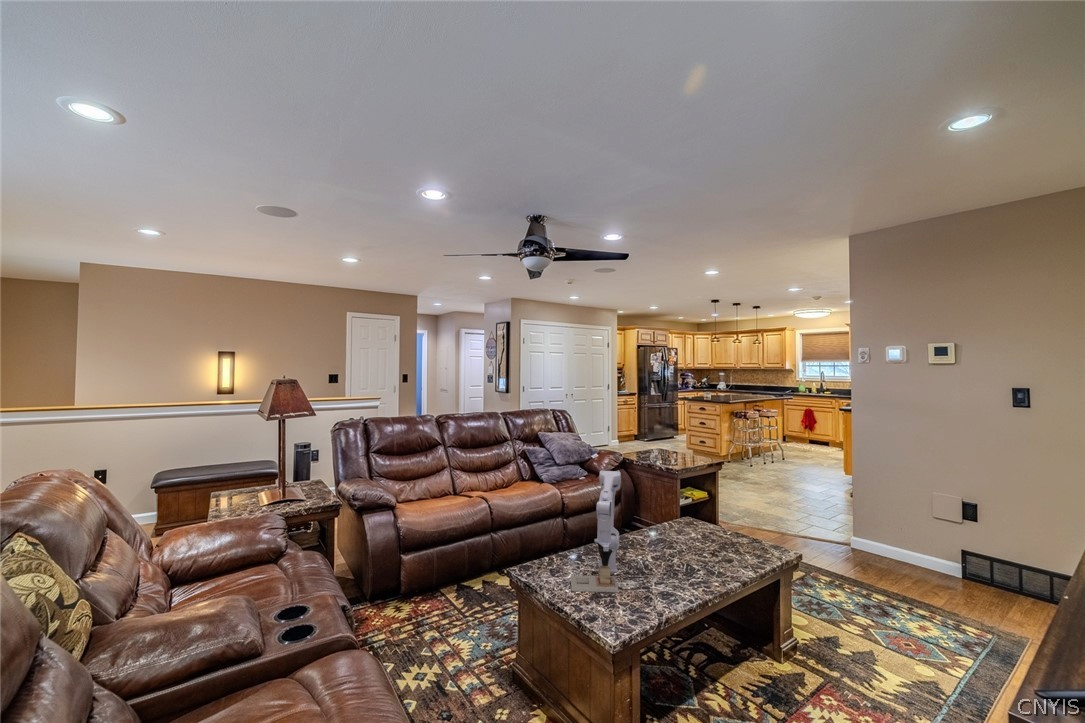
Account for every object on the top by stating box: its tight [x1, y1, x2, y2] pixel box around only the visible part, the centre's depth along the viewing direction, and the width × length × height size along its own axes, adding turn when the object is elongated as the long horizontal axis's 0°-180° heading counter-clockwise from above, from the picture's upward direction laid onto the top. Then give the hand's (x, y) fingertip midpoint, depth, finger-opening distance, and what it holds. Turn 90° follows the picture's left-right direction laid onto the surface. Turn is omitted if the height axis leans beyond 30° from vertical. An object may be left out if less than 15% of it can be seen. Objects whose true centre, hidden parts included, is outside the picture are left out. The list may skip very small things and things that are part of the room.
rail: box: [570, 574, 619, 593], centre depth 189 cm, size 10×19×2 cm, turn 88°
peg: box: [598, 565, 611, 584], centre depth 189 cm, size 4×4×8 cm
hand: (603, 561), depth 190 cm, fingers open, 7 cm apart
